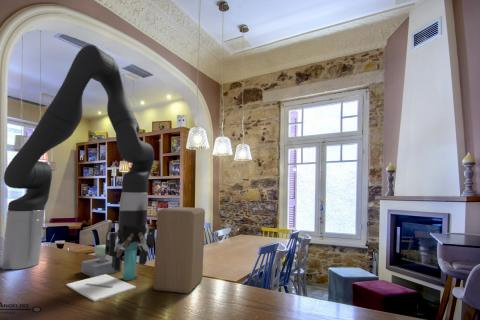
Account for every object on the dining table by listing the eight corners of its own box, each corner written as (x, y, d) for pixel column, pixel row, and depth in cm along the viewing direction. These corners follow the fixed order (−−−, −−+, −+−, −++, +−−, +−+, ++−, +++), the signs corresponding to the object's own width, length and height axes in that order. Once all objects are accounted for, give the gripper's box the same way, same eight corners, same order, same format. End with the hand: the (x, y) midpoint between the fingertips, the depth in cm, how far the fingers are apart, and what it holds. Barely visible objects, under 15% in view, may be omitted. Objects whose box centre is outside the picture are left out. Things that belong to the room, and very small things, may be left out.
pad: (66, 285, 65) (66, 283, 65) (105, 275, 73) (105, 273, 73) (94, 301, 57) (95, 299, 57) (135, 288, 65) (135, 286, 65)
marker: (120, 278, 71) (122, 241, 72) (131, 275, 74) (133, 239, 75) (126, 281, 69) (129, 243, 71) (138, 277, 72) (140, 241, 73)
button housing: (80, 272, 76) (81, 261, 76) (107, 265, 82) (108, 256, 83) (93, 277, 71) (94, 266, 72) (121, 270, 78) (122, 260, 78)
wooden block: (170, 277, 73) (173, 206, 75) (203, 280, 71) (206, 207, 73) (151, 291, 63) (156, 209, 66) (189, 295, 61) (192, 210, 63)
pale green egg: (90, 265, 76) (92, 246, 77) (105, 262, 80) (106, 243, 81) (97, 268, 74) (99, 248, 75) (112, 264, 77) (114, 245, 78)
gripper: (147, 206, 82) (144, 259, 80) (102, 208, 70) (97, 271, 68) (162, 207, 78) (159, 264, 76) (116, 210, 66) (111, 277, 64)
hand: (129, 267), depth 72 cm, fingers open, 7 cm apart
